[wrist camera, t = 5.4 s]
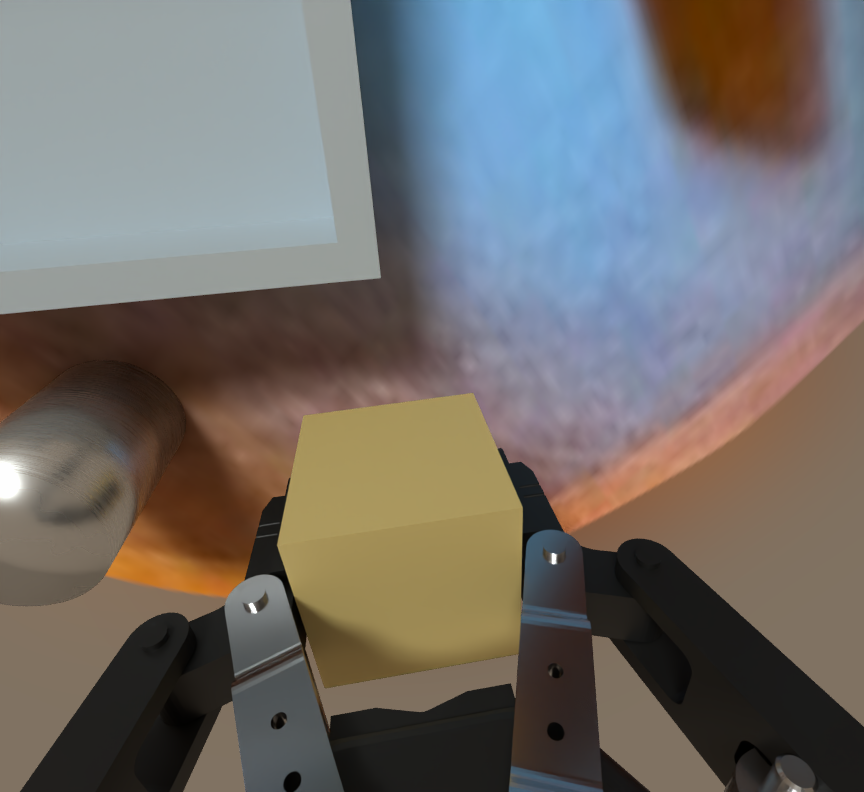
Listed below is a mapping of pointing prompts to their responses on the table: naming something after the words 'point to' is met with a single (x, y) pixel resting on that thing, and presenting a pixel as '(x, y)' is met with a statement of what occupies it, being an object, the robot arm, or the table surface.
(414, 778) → the robot arm
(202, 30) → the tote
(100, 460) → the metal cylinder
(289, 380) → the table surface
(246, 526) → the table surface
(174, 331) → the table surface
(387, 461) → the ochre cube
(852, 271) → the table surface
